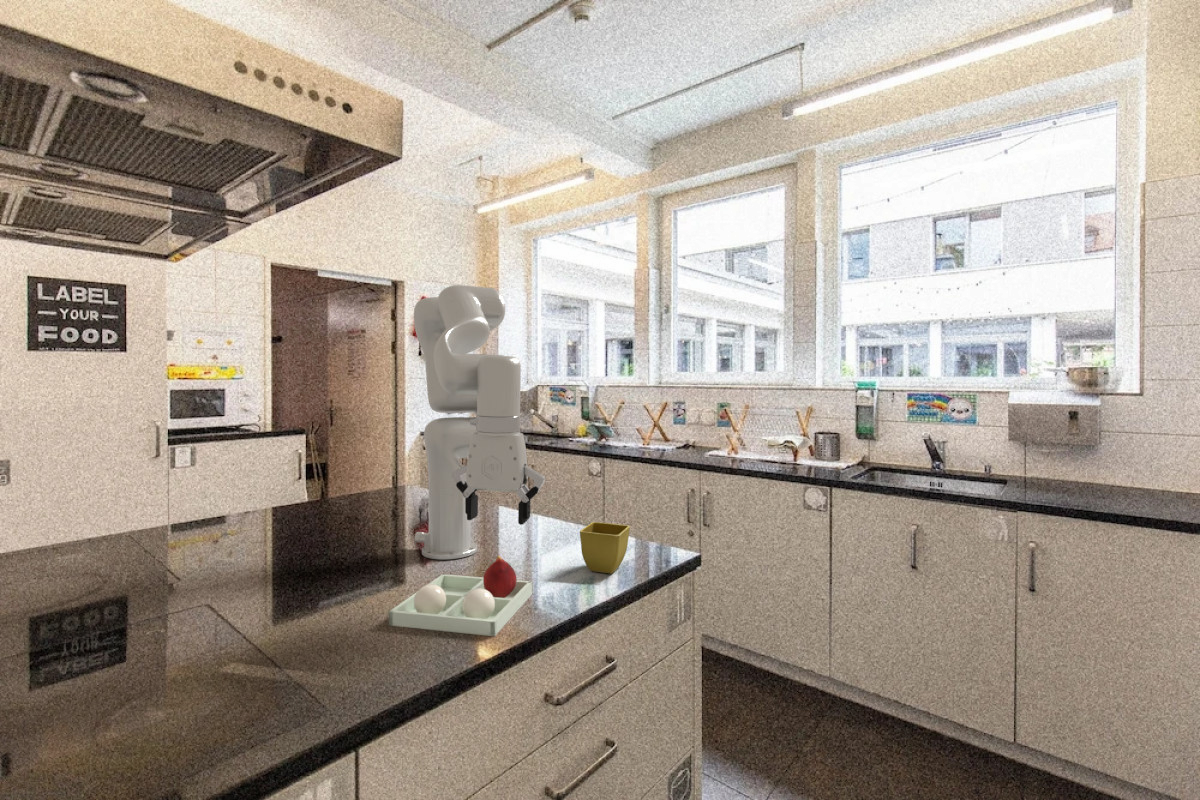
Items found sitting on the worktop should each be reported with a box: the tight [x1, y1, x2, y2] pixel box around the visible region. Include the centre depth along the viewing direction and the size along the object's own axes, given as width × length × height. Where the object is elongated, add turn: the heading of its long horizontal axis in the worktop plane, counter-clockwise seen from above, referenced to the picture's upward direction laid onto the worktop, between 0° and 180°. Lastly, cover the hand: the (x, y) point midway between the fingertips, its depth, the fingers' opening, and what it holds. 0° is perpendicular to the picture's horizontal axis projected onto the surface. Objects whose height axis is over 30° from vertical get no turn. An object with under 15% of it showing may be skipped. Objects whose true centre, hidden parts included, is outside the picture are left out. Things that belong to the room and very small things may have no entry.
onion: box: [483, 555, 517, 598], centre depth 101 cm, size 6×6×8 cm
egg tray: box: [388, 573, 533, 637], centre depth 98 cm, size 18×18×3 cm
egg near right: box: [463, 588, 495, 619], centre depth 93 cm, size 5×5×5 cm
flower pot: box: [579, 521, 631, 575], centre depth 122 cm, size 9×9×9 cm
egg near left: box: [414, 583, 446, 614], centre depth 95 cm, size 5×5×5 cm
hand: (497, 520), depth 102 cm, fingers open, 9 cm apart
